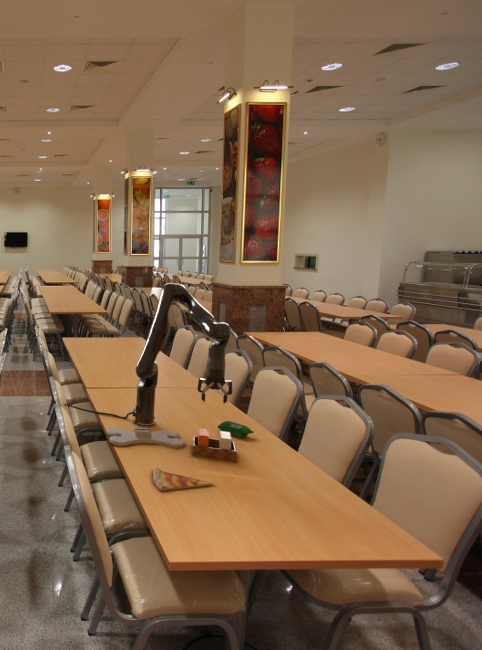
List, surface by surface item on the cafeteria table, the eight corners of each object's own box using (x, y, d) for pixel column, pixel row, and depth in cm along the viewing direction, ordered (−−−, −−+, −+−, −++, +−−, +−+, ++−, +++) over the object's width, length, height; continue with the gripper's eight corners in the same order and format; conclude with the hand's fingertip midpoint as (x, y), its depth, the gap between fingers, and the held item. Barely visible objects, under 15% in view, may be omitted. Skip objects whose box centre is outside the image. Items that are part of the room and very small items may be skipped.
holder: (105, 431, 251) (106, 421, 250) (175, 433, 248) (176, 423, 248) (111, 446, 232) (111, 435, 231) (186, 449, 230) (187, 438, 229)
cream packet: (219, 457, 219) (221, 438, 218) (218, 450, 228) (220, 430, 227) (230, 459, 218) (231, 439, 217) (228, 451, 226) (229, 432, 225)
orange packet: (197, 454, 223) (199, 435, 221) (197, 447, 231) (198, 428, 230) (207, 456, 221) (208, 436, 220) (206, 448, 230) (208, 429, 228)
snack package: (246, 441, 240) (247, 430, 240) (215, 430, 253) (216, 420, 252) (254, 438, 244) (255, 427, 244) (223, 428, 257) (224, 418, 256)
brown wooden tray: (192, 456, 222) (193, 445, 221) (192, 446, 233) (193, 435, 232) (235, 462, 216) (236, 451, 215) (233, 451, 227) (233, 441, 227)
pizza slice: (204, 502, 182) (205, 497, 181) (143, 486, 193) (143, 481, 193) (212, 485, 195) (212, 480, 195) (154, 471, 206) (154, 466, 206)
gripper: (232, 366, 227) (229, 401, 229) (198, 364, 231) (196, 398, 233) (234, 370, 220) (232, 406, 222) (199, 367, 224) (197, 403, 226)
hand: (213, 402), depth 228 cm, fingers open, 8 cm apart
